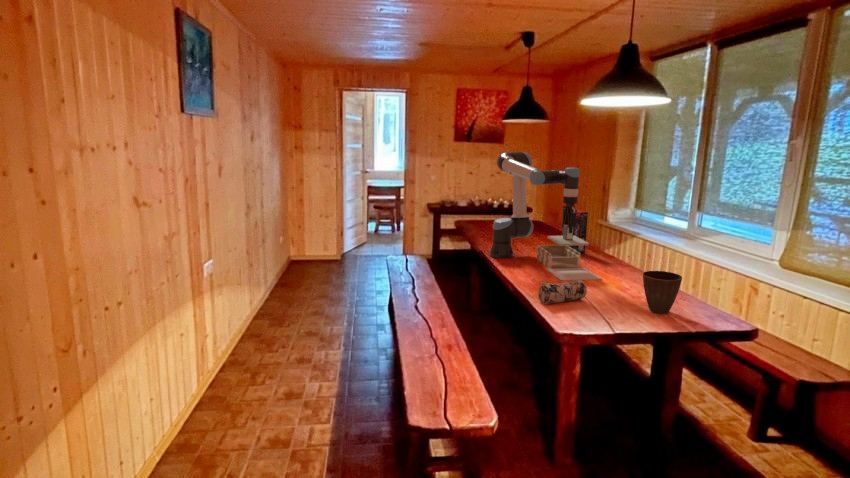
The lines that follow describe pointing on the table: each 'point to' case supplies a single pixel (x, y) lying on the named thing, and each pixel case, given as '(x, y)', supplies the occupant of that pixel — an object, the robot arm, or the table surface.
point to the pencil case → (562, 292)
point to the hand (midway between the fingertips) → (567, 237)
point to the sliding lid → (567, 242)
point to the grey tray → (573, 274)
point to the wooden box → (558, 256)
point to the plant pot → (661, 290)
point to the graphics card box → (579, 229)
